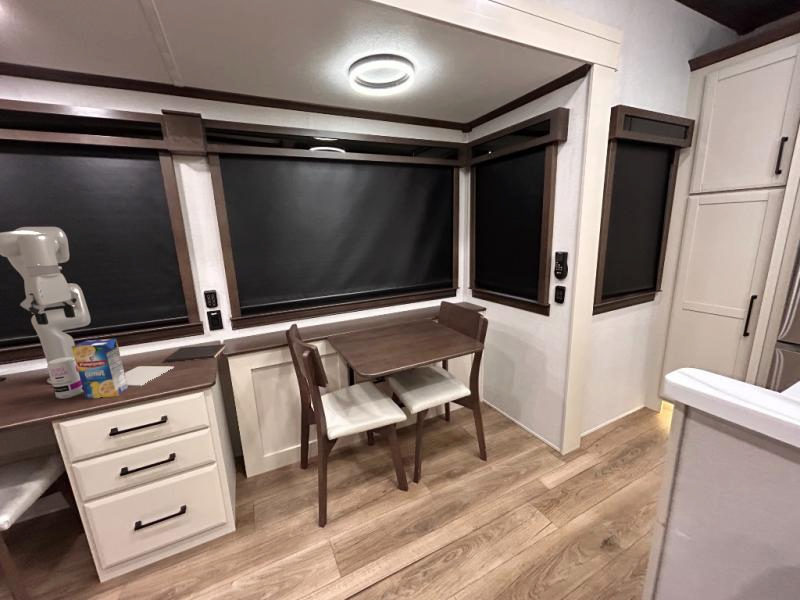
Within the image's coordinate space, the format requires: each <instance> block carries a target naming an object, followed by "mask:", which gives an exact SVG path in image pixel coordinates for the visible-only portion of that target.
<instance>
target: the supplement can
mask: <svg viewBox="0 0 800 600" xmlns="http://www.w3.org/2000/svg"><path fill="white" fill-rule="evenodd" d="M46 367H47V371H49V374H48V375H49V378H51V381H52V384H51V385H52V387H53V391H54V394H55V398H57V399H62V400H63V399H69V398H73V397H75V396H78V395H80V394H82V393H84V390H83V387H82V383H81V380H80V376H79V372H78V369H77V365H76V362H75V358H74V357H63V358H58V359H55V360H52V361H50V362H49V364H48V363H47V366H46ZM81 392H82V393H81Z"/></svg>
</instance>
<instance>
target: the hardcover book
mask: <svg viewBox="0 0 800 600" xmlns="http://www.w3.org/2000/svg"><path fill="white" fill-rule="evenodd" d="M225 348H226V344H225V343H223V344H213V345H212V344H211V345H202V346H201V345H198V346H189V347H188V346H187V347H186V346H185V347H180V348H178V349H177V350H175V351H174V352H173V353H172V354H170V355H169V356H167V357H166V358H165V359H164V363H165V362H168V363H176V362H175V361H180V362H186V361H185V360H191V361H195V360H194V359H203V360H205V359H204V358H214V359H216V357H217V356H218V355H219V354H220V353H221V352H222V351H224V349H225Z"/></svg>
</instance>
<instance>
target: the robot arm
mask: <svg viewBox="0 0 800 600" xmlns="http://www.w3.org/2000/svg"><path fill="white" fill-rule="evenodd" d="M0 256H2V257H5V258H7V260H8V261H9V262H10V264H11V266H12V267H13V268H14V269H15V270H16V271H17V272H18V273H19V274H20V276H21V277H22V278H23V280H24V293H25V297H26V298H25V299H24V300H22V302H21V303H19V304H20V305H19V306H21V307H22V308H23V309H25V310H26V311H28V312H30V313H31V314H32V317H31V320H30V322H31V324H32V326H33V329H34V330H35V331H36V333H37V336H38V338H39V341H40V343H41V347H42V349H43V353H44V357H45V359H46V362H47V365H48V364H49V362H50V361H52V360H55V359H58V358H63V357H74V355H73V351H72V346H75V345H76V344H75V341H74V338H73V337H72V336H71V335H69V334H68V333H66V332H63V331H67V330H71V329H77V328H83V327H86V326H88V325H90V323H91V314H90V312H89V311H90V310H89V309H88V305H87V302H86V299H85V296H84V293H83V290H82V288H81V286H79V285H78V284H77V283H68V282H67V280H66V277H65V276H64V275H63V273H61V271H62V270H63V267H62V266H61V265H59V264H62V263H66V262H68V261H69V260H70V250H69V241H68V237H67V235H66V233H65V232H64V230H63V229H61V228H60V227H57V226H23V227H19V228H16V229H15V230H9V231H4V232H3V231H2V232H0ZM61 306H62V308H58V309H57V308H56V307H61ZM47 308H56V309H49V310H45V309H47ZM33 314H34V315H33ZM44 373H45V375H49V371H48V370H47V371H45V372H44ZM46 382H47V384H51V385H52V381H51V378H50V377H48V378H47V380H46Z"/></svg>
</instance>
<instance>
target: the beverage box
mask: <svg viewBox="0 0 800 600" xmlns="http://www.w3.org/2000/svg"><path fill="white" fill-rule="evenodd" d="M72 351H73V355H74V358H75V362H76V365H77V369H78V372H79V376H80V380H81V383H82V387H83V390H84V391H83V393H84V398H85V400H90V399H89V398H93V399H101V398H100V397H103V398H110V397H111V398H112V397H118V396H120V395H121V394H122V393H123V392H125V391H126V390H127V389H129V386H128V385H127V381H126V377H125V373H126V371H125V370H124V369H125V368H124V366H123V361H122V356H121V352H120V349H119V344H118V339H117V338H107V339H104V338H103V339H94V340H93V339H92V340H89V339H88V340H84V341H82V342H80V343H78V344H75V346H72ZM124 390H125V391H124Z"/></svg>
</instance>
